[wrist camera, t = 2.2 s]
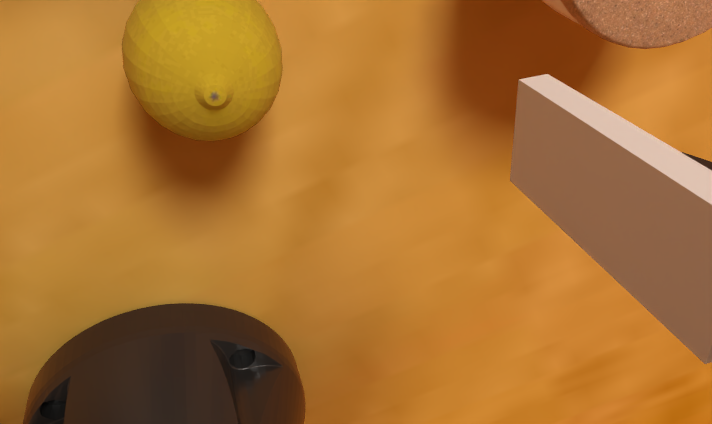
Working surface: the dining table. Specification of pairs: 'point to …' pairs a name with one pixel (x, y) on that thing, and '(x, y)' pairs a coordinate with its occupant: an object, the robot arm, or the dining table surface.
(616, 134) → the robot arm
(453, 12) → the dining table surface
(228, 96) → the lemon
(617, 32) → the lidded jar
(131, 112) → the dining table surface
